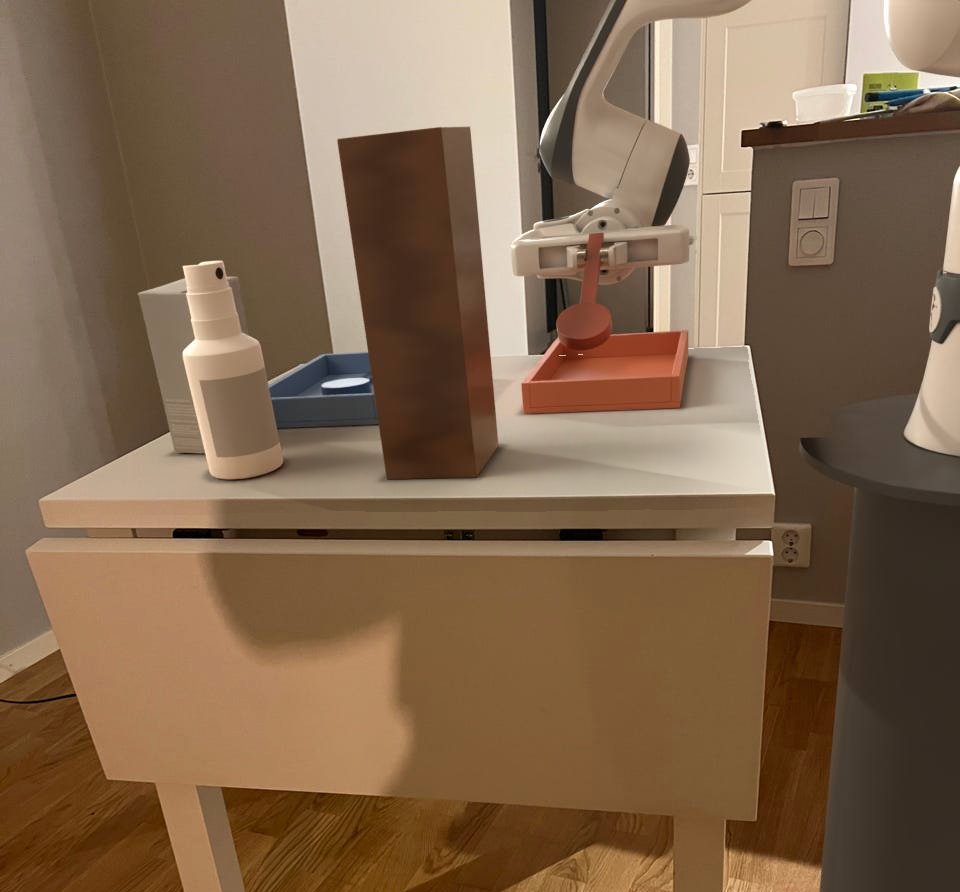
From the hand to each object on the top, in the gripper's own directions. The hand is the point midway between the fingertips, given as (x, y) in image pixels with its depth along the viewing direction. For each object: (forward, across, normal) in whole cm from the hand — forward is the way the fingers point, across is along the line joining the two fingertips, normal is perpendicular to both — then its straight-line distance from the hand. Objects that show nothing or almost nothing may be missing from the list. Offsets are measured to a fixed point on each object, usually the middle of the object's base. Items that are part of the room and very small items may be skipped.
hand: (592, 259), depth 103 cm
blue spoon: (+1, +28, -12) cm, 30 cm away
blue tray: (+6, +28, -13) cm, 31 cm away
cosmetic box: (+23, +36, -13) cm, 44 cm away
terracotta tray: (+4, -2, -13) cm, 13 cm away
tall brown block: (+31, +10, -12) cm, 35 cm away
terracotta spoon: (+3, 0, -3) cm, 4 cm away
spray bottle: (+32, +29, -13) cm, 45 cm away
